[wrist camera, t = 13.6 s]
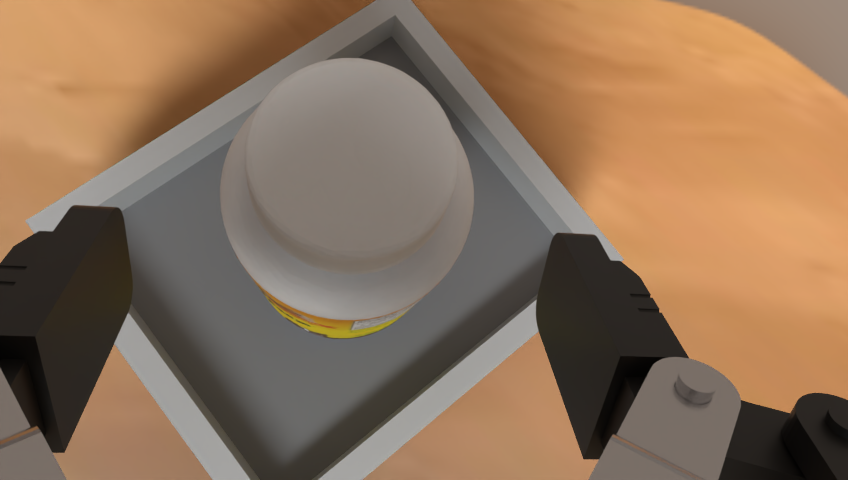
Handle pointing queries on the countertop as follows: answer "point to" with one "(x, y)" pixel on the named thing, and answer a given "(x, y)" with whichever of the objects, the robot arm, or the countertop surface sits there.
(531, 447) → the countertop surface
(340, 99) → the supplement bottle
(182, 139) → the square grey tray
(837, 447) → the robot arm
